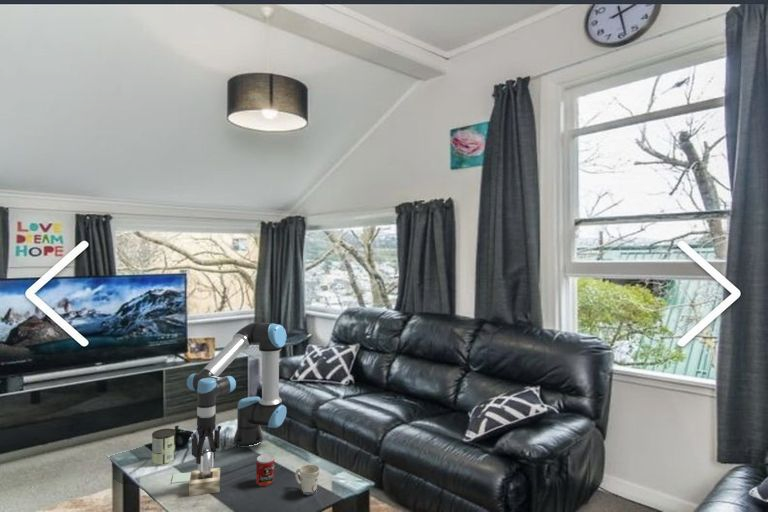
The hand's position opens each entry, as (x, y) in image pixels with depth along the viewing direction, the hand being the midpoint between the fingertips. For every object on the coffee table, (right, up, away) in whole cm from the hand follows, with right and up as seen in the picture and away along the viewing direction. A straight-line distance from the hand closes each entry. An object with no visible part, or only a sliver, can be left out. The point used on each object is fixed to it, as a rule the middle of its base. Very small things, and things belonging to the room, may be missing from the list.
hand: (205, 468), depth 202 cm
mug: (+43, -9, -1) cm, 44 cm away
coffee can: (-29, -7, +23) cm, 38 cm away
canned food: (+24, -9, +5) cm, 27 cm away
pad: (-13, -8, +7) cm, 17 cm away
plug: (0, -7, 0) cm, 7 cm away
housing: (0, -8, 0) cm, 8 cm away
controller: (-28, -7, +40) cm, 49 cm away
